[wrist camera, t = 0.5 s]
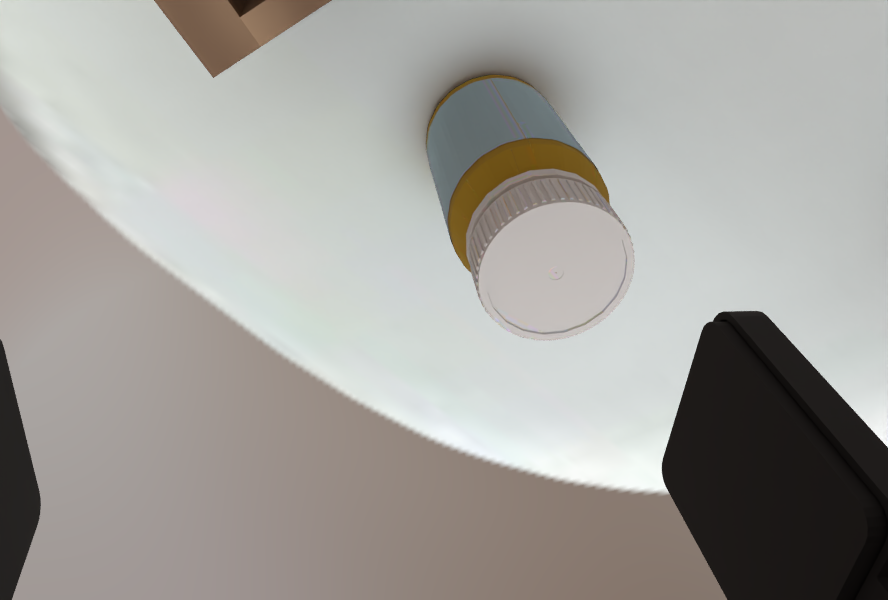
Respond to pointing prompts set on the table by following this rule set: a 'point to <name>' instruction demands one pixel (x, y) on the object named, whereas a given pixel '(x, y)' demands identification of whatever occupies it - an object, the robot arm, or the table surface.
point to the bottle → (527, 210)
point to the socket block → (233, 25)
